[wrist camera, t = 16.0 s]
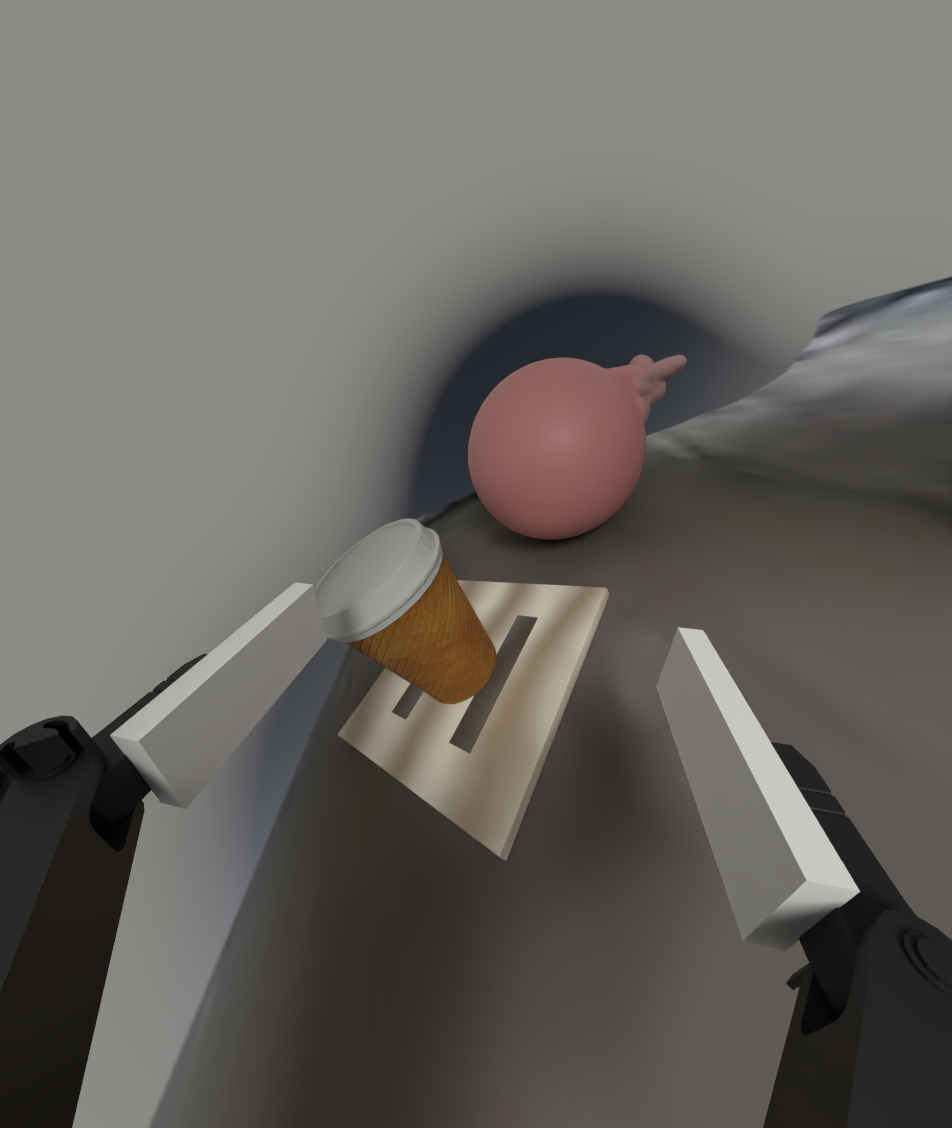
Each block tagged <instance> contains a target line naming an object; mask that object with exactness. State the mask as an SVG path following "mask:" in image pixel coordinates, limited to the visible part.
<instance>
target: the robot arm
mask: <svg viewBox="0 0 952 1128" xmlns="http://www.w3.org/2000/svg"><path fill="white" fill-rule="evenodd" d="M325 641H326V635H325V631H324V627H323V623H322V619H321V615H320V611H319V607H318V603H317V599H316V595H315V591H314V587H313V585H310V584H303V583H294V584H293V585H291V586H290V587H289V588H288V589H287V590H285V591H284V592H283V593H282V594H281V595H279V596H278V597H277V598H276V599H274V600H273V601H272V602H271V603H270V604H268V605H267V606H266V607H265V608H264V609H262V610H261V611H260V612H259V613H258V614H256V615H255V616H254V617H253V618H251V619H250V620H249V621H248V622H247V623H245V624H244V625H243V626H242V627H240V628H239V629H238V630H237V631H236V632H234V633H233V634H232V635H231V636H230V637H229V638H227V639H226V640H225V641H224V642H222V643H221V644H220V645H219V646H217V647H216V648H215V649H214V650H213V651H211V652H210V653H209V654H203V655H201V656H199V657H197V658H195V659H193V660H192V661H190V662H188V663H186V664H184V665H183V666H182V667H180V668H179V669H178V670H177V671H175V672H174V673H173V674H171V675H170V676H169V677H168V678H167V680H166V681H163V682H161V683H160V684H159V685H158V686H156V687H155V688H154V689H153V692H149V693H148V694H147V695H145V696H144V697H143V698H141V699H140V700H139V701H138V702H136V703H135V704H134V705H133V706H131V708H129V709H128V710H126V711H125V712H124V713H123V714H121V715H120V716H119V717H118V718H116V719H115V720H114V721H113V722H111V723H110V724H109V725H108V726H107V727H105V728H104V729H103V730H101V731H100V732H99V733H98V734H96V735H95V736H94V737H92V738H91V737H90V736H89V735H88V733H87V732H86V731H85V730H84V728H83V727H82V726H81V725H80V724H79V722H78V721H77V720H76V719H74V717H72V716H59V717H53V718H49V719H46V720H43V721H40V722H38V723H35V724H33V725H30V726H29V727H27V728H25V729H23V730H21V731H19V732H18V733H16V734H14V735H13V736H11V737H10V738H9V739H7V740H6V741H5V742H3V743H2V744H0V1128H72V1126H73V1121H74V1117H75V1112H76V1108H77V1103H78V1099H79V1095H80V1091H81V1086H82V1082H83V1077H84V1073H85V1069H86V1064H87V1060H88V1055H89V1051H90V1047H91V1042H92V1038H93V1033H94V1029H95V1025H96V1020H97V1016H98V1012H99V1007H100V1003H101V999H102V994H103V990H104V985H105V981H106V977H107V972H108V968H109V963H110V959H111V955H112V950H113V946H114V942H115V937H116V933H117V928H118V924H119V919H120V915H121V910H122V906H123V902H124V898H125V893H126V889H127V885H128V880H129V876H130V871H131V867H132V863H133V858H134V854H135V850H136V845H137V841H138V836H139V832H140V828H141V823H142V819H143V815H144V803H143V802H142V799H143V798H144V797H145V796H146V795H147V794H148V793H149V792H150V791H151V790H152V791H153V793H154V794H155V795H156V797H157V798H158V799H159V801H160V802H161V803H164V804H169V805H173V806H177V807H181V808H185V809H186V808H187V807H188V806H189V805H190V803H191V802H192V801H193V800H194V799H195V798H196V796H197V795H198V794H199V793H200V792H201V790H202V789H203V788H204V787H205V786H206V784H207V783H208V782H209V781H210V779H211V778H212V777H213V776H214V775H215V774H216V772H217V771H218V770H219V769H220V767H221V766H222V765H223V764H224V763H225V761H226V760H227V759H228V758H229V757H230V756H231V754H232V753H233V752H234V751H235V749H236V748H237V747H238V746H239V745H240V744H241V742H242V741H243V740H244V739H245V738H246V736H247V735H248V734H249V733H250V731H251V730H252V729H253V728H254V727H255V725H256V724H257V723H258V722H259V721H260V719H261V718H262V717H263V716H264V715H265V713H266V712H267V711H268V710H269V709H270V707H271V706H272V705H273V704H274V703H275V701H276V700H277V699H278V698H279V697H280V695H281V694H282V693H283V692H284V691H285V689H286V688H287V687H288V686H289V684H290V683H291V682H292V681H293V680H294V679H295V677H296V676H297V675H298V674H299V673H300V671H301V670H302V669H303V668H304V667H305V665H306V664H307V663H308V662H309V661H310V659H311V658H312V657H313V656H314V655H315V653H316V652H317V651H318V650H319V649H320V647H321V646H322V645H323V644H324V643H325ZM656 688H657V691H658V694H659V697H660V700H661V703H662V706H663V708H664V711H665V714H666V717H667V720H668V723H669V726H670V729H671V732H672V735H673V738H674V741H675V744H676V746H677V749H678V752H679V755H680V758H681V761H682V764H683V767H684V770H685V773H686V776H687V779H688V782H689V784H690V787H691V790H692V793H693V796H694V799H695V802H696V805H697V808H698V811H699V814H700V817H701V820H702V822H703V825H704V828H705V831H706V834H707V837H708V840H709V843H710V846H711V849H712V852H713V855H714V857H715V860H716V863H717V866H718V869H719V872H720V875H721V878H722V881H723V884H724V887H725V890H726V893H727V895H728V898H729V901H730V904H731V907H732V910H733V913H734V916H735V919H736V922H737V925H738V928H739V931H740V933H741V936H742V939H743V941H747V942H751V943H755V944H759V945H763V946H768V947H772V948H776V949H780V950H784V951H785V950H787V949H788V948H789V947H791V946H792V945H793V944H794V943H796V942H797V941H798V940H800V942H801V945H802V947H803V949H804V951H805V954H806V956H807V958H808V960H809V963H808V964H807V965H806V966H804V967H803V968H801V969H800V970H798V971H797V972H796V973H794V974H793V975H792V976H791V977H790V979H789V980H788V981H787V983H786V984H787V985H788V986H789V987H790V988H791V989H792V990H794V989H796V988H797V987H799V986H800V988H799V992H798V996H797V1000H796V1003H795V1007H794V1011H793V1015H792V1019H791V1023H790V1027H789V1030H788V1034H787V1038H786V1042H785V1046H784V1050H783V1053H782V1057H781V1061H780V1065H779V1069H778V1073H777V1077H776V1080H775V1084H774V1088H773V1092H772V1096H771V1100H770V1103H769V1107H768V1111H767V1115H766V1119H765V1123H764V1127H763V1128H952V940H951V939H950V938H948V937H947V936H946V935H945V934H943V933H942V932H941V931H940V930H939V929H937V928H935V927H934V926H932V925H930V924H929V923H927V922H925V921H924V920H922V919H920V918H919V917H917V916H916V915H915V913H914V912H913V911H912V909H911V908H910V907H909V906H908V904H907V903H906V902H905V900H904V899H903V897H902V896H901V894H900V893H899V891H898V890H897V888H896V887H895V886H894V884H893V883H892V881H891V880H890V878H889V877H888V875H887V874H886V872H885V871H884V869H883V868H882V866H881V865H880V863H879V862H878V860H877V859H876V857H875V856H874V854H873V853H872V851H871V850H870V848H869V847H868V846H867V844H866V843H865V841H864V840H863V838H862V837H861V835H860V834H859V832H858V831H857V829H856V828H855V826H854V825H853V823H852V822H851V820H850V819H849V818H848V817H846V816H845V811H844V810H843V808H842V807H841V805H840V804H839V803H838V801H837V800H836V798H835V797H834V796H832V795H831V791H830V789H829V788H828V786H827V785H826V783H825V782H824V780H823V779H822V777H821V776H820V774H819V773H818V771H817V770H816V768H815V767H814V766H813V765H812V764H811V763H810V762H809V761H808V760H806V759H805V758H804V757H803V756H802V755H801V754H800V753H799V752H798V751H797V750H796V749H795V748H794V747H793V746H792V745H786V744H779V743H773V742H770V741H769V739H768V737H767V736H766V734H765V732H764V731H763V729H762V727H761V726H760V724H759V722H758V721H757V719H756V717H755V716H754V714H753V712H752V711H751V709H750V707H749V706H748V704H747V702H746V701H745V699H744V697H743V696H742V694H741V692H740V691H739V689H738V687H737V686H736V684H735V682H734V681H733V679H732V677H731V676H730V674H729V672H728V671H727V669H726V667H725V666H724V664H723V662H722V661H721V659H720V657H719V656H718V654H717V652H716V651H715V649H714V647H713V646H712V644H711V642H710V641H709V639H708V637H707V636H706V634H705V632H704V631H703V630H696V629H688V628H679V627H678V629H677V631H676V634H675V637H674V640H673V642H672V645H671V648H670V650H669V653H668V656H667V659H666V661H665V664H664V667H663V669H662V672H661V675H660V678H659V680H658V683H657V686H656Z"/></svg>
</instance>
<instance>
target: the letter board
mask: <svg viewBox="0 0 952 1128" xmlns="http://www.w3.org/2000/svg"><path fill="white" fill-rule="evenodd" d="M457 581H458V583H459V584H460V586H461V588H462V590H463V591H464V593H465V595H466V597H467V599H468V600H469V602H470V604H471V606H472V608H473V609H474V611H475V613H476V615H477V616H478V618H479V620H480V622H481V624H482V625H483V627H484V629H485V631H486V632H487V634H488V636H489V638H490V639H491V641H492V643H493V644H494V647H495V649H496V664H495V667H494V670H493V673H492V675H491V676H490V678H489V680H488V682H487V683H486V684H485V685H484V687H483V688H482V689H481V690H480V691H478V692H477V693H476V694H475V695H474V696H472V697H471V698H469V699H468V700H465V701H463V702H461V703H457V704H444V703H440V702H439V701H437V700H435V699H434V698H433V697H431V696H430V695H428V694H426V693H425V692H423V691H421V690H420V689H419V688H417V687H415V686H413V685H412V684H410V683H409V682H408V681H406V680H404V679H402V678H401V677H399V676H398V675H396V674H395V673H393V672H391V671H390V670H389V669H387V668H385V669H384V670H383V672H382V673H381V674H380V676H379V677H378V679H377V680H376V682H375V683H374V684H373V686H372V687H371V689H370V690H369V691H368V693H367V694H366V696H365V697H364V698H363V700H362V701H361V703H360V704H359V705H358V707H357V708H356V710H355V711H354V712H353V714H352V715H351V717H350V718H349V719H348V721H347V722H346V724H345V725H344V726H343V728H342V729H341V731H340V732H339V733H338V735H339V736H340V737H341V738H343V739H344V740H345V741H347V742H348V743H349V744H351V745H352V746H353V747H355V748H356V749H357V750H359V751H360V752H361V753H363V754H364V755H365V756H366V757H368V758H369V759H370V760H372V761H373V762H374V763H376V764H377V765H378V766H380V767H381V768H382V769H384V770H385V771H386V772H388V773H389V774H390V775H392V776H393V777H394V778H396V779H397V780H398V781H400V782H401V783H402V784H403V785H405V786H406V787H407V788H409V789H410V790H411V791H413V792H414V793H415V794H417V795H418V796H419V797H421V798H422V799H423V800H425V801H426V802H427V803H429V804H430V805H431V806H433V807H434V808H435V809H437V810H438V811H439V812H441V813H442V814H443V815H444V816H446V817H447V818H448V819H450V820H451V821H452V822H454V823H455V824H456V825H458V826H459V827H460V828H462V829H463V830H464V831H466V832H467V833H468V834H470V835H471V836H472V837H474V838H475V839H476V840H478V841H479V842H480V843H482V844H483V845H484V846H485V847H487V848H488V849H489V850H491V851H492V852H493V853H495V854H496V855H497V856H499V857H500V858H502V859H504V860H505V861H507V858H508V856H509V853H510V851H511V848H512V846H513V843H514V840H515V838H516V835H517V833H518V830H519V827H520V825H521V822H522V820H523V817H524V814H525V812H526V809H527V807H528V804H529V802H530V799H531V796H532V794H533V791H534V789H535V786H536V783H537V781H538V778H539V776H540V773H541V771H542V768H543V765H544V763H545V760H546V758H547V755H548V752H549V750H550V747H551V745H552V742H553V739H554V737H555V734H556V732H557V729H558V727H559V724H560V721H561V719H562V716H563V714H564V711H565V708H566V706H567V703H568V701H569V698H570V695H571V693H572V690H573V688H574V685H575V683H576V680H577V677H578V675H579V672H580V670H581V667H582V664H583V662H584V659H585V657H586V654H587V652H588V649H589V646H590V644H591V641H592V639H593V636H594V633H595V631H596V628H597V626H598V623H599V620H600V618H601V615H602V613H603V610H604V608H605V605H606V602H607V600H608V597H609V592H608V590H607V588H601V587H581V586H562V585H542V584H522V583H503V582H483V581H463V580H457Z"/></svg>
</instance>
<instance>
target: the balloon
mask: <svg viewBox="0 0 952 1128" xmlns="http://www.w3.org/2000/svg"><path fill="white" fill-rule="evenodd" d="M685 364H686V358H685V357H684V356H682V355H678V356H673V357H669V358H665V359H663V360H661V361H659V362H656V363H653V360H652V359H651V358H649V357H648V356H645V355H638V356H636V357H635V358H634V359H633V360H632V361H631V362H630V364H629V365H626V366H622V367H616V368H609V369H604V368H602V367H600V366H598V365H596V364H593V363H590V362H587V361H584V360H580V359H573V358H553V359H546V360H541V361H538V362H535V363H532V364H529V365H527V366H525V367H523V368H521V369H519V370H517V371H515V372H514V373H512V374H511V375H509V376H508V377H507V378H505V379H504V380H503V381H502V382H501V383H499V384H498V385H497V386H496V387H495V389H494V390H493V391H492V392H491V393H490V395H489V396H488V397H487V398H486V400H485V401H484V403H483V404H482V406H481V408H480V410H479V412H478V414H477V416H476V418H475V421H474V423H473V427H472V430H471V434H470V439H469V448H468V463H469V470H470V475H471V479H472V483H473V485H474V488H475V490H476V493H477V495H478V497H479V498H480V500H481V502H482V503H483V505H484V506H485V508H486V509H487V510H488V511H489V512H490V513H491V515H492V516H493V517H494V518H496V519H497V520H498V521H499V522H500V523H502V524H503V525H504V526H506V527H508V528H509V529H511V530H513V531H515V532H517V533H519V534H522V535H525V536H528V537H532V538H537V539H546V540H556V539H565V538H570V537H574V536H578V535H581V534H583V533H586V532H588V531H590V530H592V529H594V528H596V527H598V526H599V525H601V524H602V523H604V522H605V521H607V520H608V519H609V518H610V517H612V516H613V515H614V514H615V513H616V512H617V511H618V510H619V509H620V508H621V507H622V505H623V504H624V503H625V502H626V500H627V499H628V497H629V496H630V494H631V493H632V491H633V489H634V487H635V485H636V483H637V481H638V479H639V476H640V473H641V470H642V467H643V462H644V457H645V447H646V438H645V428H644V424H645V422H646V421H647V419H648V414H649V412H650V405H652V404H653V403H655V402H656V401H658V400H660V399H661V398H662V397H663V395H664V393H665V390H666V385H665V379H666V378H667V377H669V376H672V375H673V374H674V373H675V372H677V371H680V370H682V369H683V368H684V366H685Z"/></svg>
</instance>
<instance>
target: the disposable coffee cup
mask: <svg viewBox="0 0 952 1128" xmlns="http://www.w3.org/2000/svg"><path fill="white" fill-rule="evenodd" d="M314 591H315V595H316V599H317V603H318V607H319V611H320V615H321V619H322V623H323V627H324V631H325V635H326V638H329V639H332V640H337V641H339V642H346V643H347V644H348V645H350V646H352V647H354V648H355V649H356V650H358V651H360V652H362V653H363V654H364V655H366V656H368V657H369V658H370V659H372V660H374V661H376V662H377V663H378V664H380V665H382V666H383V667H385V668H387V669H389V670H390V671H391V672H393V673H395V674H396V675H398V676H399V677H401V678H402V679H404V680H406V681H408V682H409V683H410V684H412V685H413V686H415V687H417V688H419V689H420V690H421V691H423V692H425V693H426V694H428V695H430V696H431V697H433V698H434V699H435V700H437V701H439V702H440V703H444V704H457V703H461V702H463V701H465V700H468V699H469V698H471V697H472V696H474V695H475V694H476V693H477V692H478V691H480V690H481V689H482V688H483V687H484V685H485V684H486V683H487V682H488V680H489V678H490V676H491V675H492V673H493V670H494V667H495V664H496V649H495V647H494V644H493V643H492V641H491V639H490V638H489V636H488V634H487V632H486V631H485V629H484V627H483V625H482V624H481V622H480V620H479V618H478V616H477V615H476V613H475V611H474V609H473V608H472V606H471V604H470V602H469V600H468V599H467V597H466V595H465V593H464V591H463V590H462V588H461V586H460V584H459V583H458V581H457V579H456V577H455V576H454V574H453V572H452V570H451V569H450V567H449V565H448V563H447V561H446V560H445V558H444V556H443V552H442V548H441V545H440V538H439V536H438V534H437V533H436V532H435V531H434V530H432V529H429V528H425V527H424V526H423V525H422V524H420V523H419V522H418V521H417V520H415V519H402V520H398V521H395V522H393V523H390V524H387V525H385V526H383V527H381V528H379V529H377V530H376V531H374V532H372V533H371V534H369V535H367V536H366V537H364V538H363V539H362V540H360V541H359V542H358V543H356V544H355V545H354V546H352V547H351V548H350V549H349V550H348V551H347V552H346V553H344V554H343V555H342V556H341V557H340V558H339V559H338V560H337V561H336V562H335V563H334V564H333V565H332V566H331V567H330V568H329V569H328V571H327V572H326V573H325V574H324V575H323V577H322V578H321V579H320V581H319V582H318V584H317V585H316V587H315V588H314Z"/></svg>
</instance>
